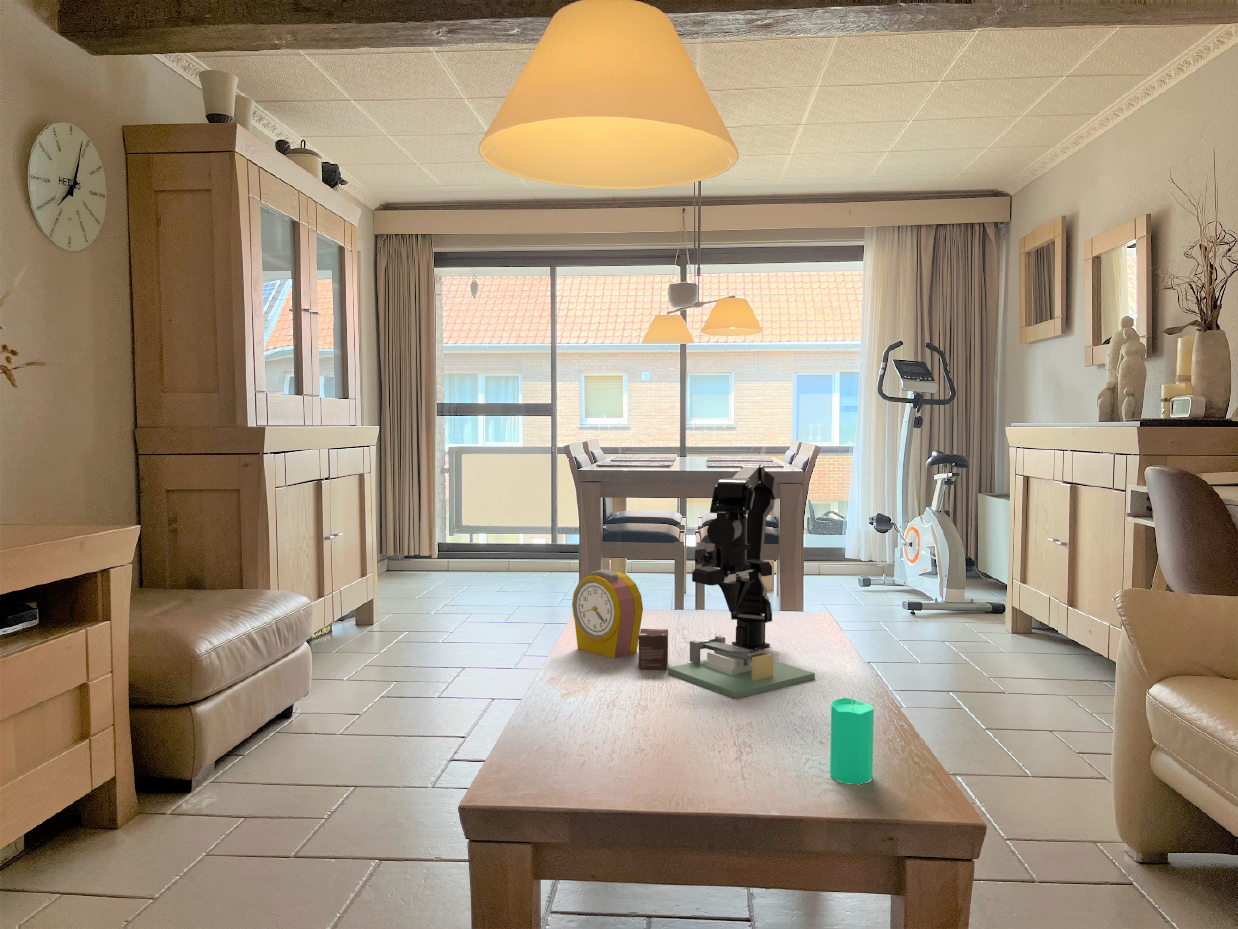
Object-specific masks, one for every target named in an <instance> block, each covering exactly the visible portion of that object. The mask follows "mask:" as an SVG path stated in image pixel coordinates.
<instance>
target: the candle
mask: <svg viewBox="0 0 1238 929" xmlns="http://www.w3.org/2000/svg"><path fill="white" fill-rule="evenodd" d="M830 702H831V703H830V746H829V747H830V751H829V752H830V756H829V775H830V774H831V775H830V778H832V777H833V778H834V779H833V778H832V779H833V780H835V779H836V780H839V781H842V782H845V783H852V784H861V783H865V782H868V781H869V780H870V779H872V780H873V769H874V768H873V762H874V760H873V759H874V758H873V756H874V712H875V711H874V710H875V709H874V707H873V705H872V704H869V703H866V702H863V701H861V700H858V699H854V695H853V694H851V698H849V697H842V698H837V699H834V700H832V701H830ZM836 780H835V781H836ZM845 783H844V784H845Z"/></svg>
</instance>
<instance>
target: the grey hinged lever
mask: <svg viewBox="0 0 1238 929" xmlns="http://www.w3.org/2000/svg"><path fill="white" fill-rule="evenodd" d="M699 642H700V650H706V649H707V650H711V651H717V652H721V653H724V654H728V655H732V656H736V657H739V658H743V659H747V660H751V661H752V657H756V656H761V655H765V654H766V653H767V651H766V649H764V648H758V649H754V650H749V649H746V648H742V647H739V646H736V645H732V644H730V643H729V644H728V643H726V642H725V643H722V642H719V641H718V639H715V638H711V639H706V640H702V641H699Z"/></svg>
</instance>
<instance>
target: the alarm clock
mask: <svg viewBox="0 0 1238 929" xmlns="http://www.w3.org/2000/svg"><path fill="white" fill-rule="evenodd" d="M571 606H572V608H571V609H572V614H573V620H574V626H575V634H576V643H577V645H576V646H577V650H582V651H586V652H589V653H593V654H598V655H601V656H605V657H608V658H612V659H615V658H620V657H623V656H626V655H629V654H635V653H637V652H638V648H639V634H640V630H641V624H642V619H643V612H644V607H643V598H642V595H641V592H640V589H639V588H638V585H637V583H636V582H635V581H634V580H633V579H632V578H631V577H630V576H629V574H626V573H623V572H621V571H613V570H610V569H600V570H593V571H590V572H589V575H588V576H586V577H584V578H583V579H582V580H580V581H579V582H578V584H577V586H576V587H575V589H574V590H573V594H572V602H571Z"/></svg>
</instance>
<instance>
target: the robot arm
mask: <svg viewBox="0 0 1238 929" xmlns="http://www.w3.org/2000/svg"><path fill="white" fill-rule="evenodd" d="M777 498H778V484H777V481H776V477H774V476H773V475H772V474H770V473H769V472H768V471H767V470H766V468H765V466H764V465H762V464H754V463H753V464H749V463H747V464H746V463H745V464H744V465H741V466H740V470H739V471H737V473H735V475H734V476H732V477H730V478H729V477H728V478H726V477H725V478H722V479H719V480H718V481H717V483H716V484H715V485H714V487H713V493H712V499H711V503H710V508H709V514H716V518H714V519H712V520H711V521H710V522H709V524H708V526H707V530H706V534H707V537H708V540H709V541H710V542H711V543H712V544H714V548H713V550H710V551H707V549H706V548H704V547H703V548H699V549H696V550H694V561H695V565H697V566H700V565H701V567H695V568H694V569H693V571H692V572H691V581H692V583H698V584H701V585H706V586H718V587H719V588H720V590H721V592H722V593H723V597H724V599H725V602H726V606H727V609H728V611H729V612H730V619H731V620H733V621H734V620H736V627H735V641H732V642H731V645H734V646H738V647H741V648H745V649H749V650H753V651H755V650H759V649H764V648H766V647H767V648H768V647H770V646H771V644H770V643H768V642H766V624H767V623H771V622H773V608H772V604H771V602H770V598H769V596H768V590H767V588H766V586H765V583H764V582H763V581H764V580H762V577H768V576H769V577H770V576H773V566H772V564H771V563H770V561H768V560H767V561H766V560H763V559H764V551H765V550H764V549H765V548H764V547H765V536H766V535H765V534H766V526H767V525H766V522H767V517H768V516H769V515H770V514H771V512H772V511H773V509H774V506H775V500H777Z"/></svg>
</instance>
